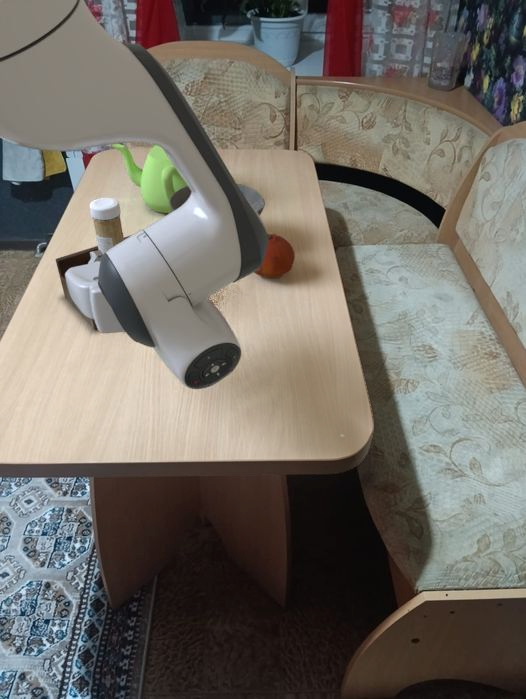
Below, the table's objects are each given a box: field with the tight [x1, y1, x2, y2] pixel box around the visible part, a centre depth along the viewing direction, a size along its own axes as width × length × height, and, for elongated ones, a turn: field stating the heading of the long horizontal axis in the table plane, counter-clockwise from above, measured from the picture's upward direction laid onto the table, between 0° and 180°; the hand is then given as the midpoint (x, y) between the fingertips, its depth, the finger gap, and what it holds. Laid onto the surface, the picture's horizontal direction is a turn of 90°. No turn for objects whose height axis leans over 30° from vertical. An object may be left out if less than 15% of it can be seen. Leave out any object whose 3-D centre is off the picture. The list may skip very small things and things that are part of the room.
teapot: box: [110, 143, 188, 214], centre depth 124 cm, size 19×20×14 cm
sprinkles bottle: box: [89, 197, 125, 254], centre depth 89 cm, size 5×5×14 cm
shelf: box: [54, 234, 133, 331], centre depth 95 cm, size 16×12×8 cm
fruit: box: [253, 233, 296, 279], centre depth 102 cm, size 9×9×8 cm
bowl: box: [169, 182, 266, 216], centre depth 110 cm, size 19×19×10 cm
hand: (128, 248), depth 78 cm, fingers open, 8 cm apart
